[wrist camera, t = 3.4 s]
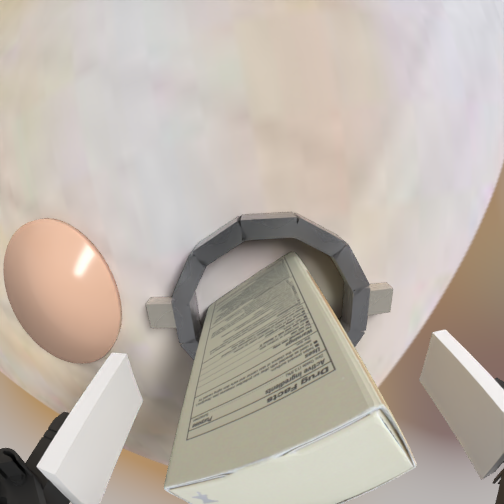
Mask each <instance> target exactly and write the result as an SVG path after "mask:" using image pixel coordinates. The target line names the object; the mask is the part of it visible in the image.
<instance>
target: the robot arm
mask: <svg viewBox="0 0 504 504" xmlns="http://www.w3.org/2000/svg"><path fill="white" fill-rule="evenodd" d="M419 380H420V382H421V384H422V385H423V387H424V388H425V390H426V391H427V392H428V394H429V395H430V397H431V398H432V400H433V401H434V403H435V405H436V406H437V407H438V409H439V411H440V412H441V414H442V415H443V417H444V418H445V420H446V422H447V423H448V425H449V426H450V428H451V430H452V431H453V433H454V434H455V436H456V438H457V439H458V441H459V443H460V444H461V446H462V447H463V449H464V451H465V452H466V454H467V456H468V458H469V459H470V461H471V463H472V464H473V466H474V468H475V470H476V471H477V473H478V475H479V477H480V479H481V480H482V479H483V478H485V477H487V476H489V475H490V474H492V473H493V472H495V471H496V470H497V469H498V468H499V466H500V465H501V464H502V463H503V462H504V382H503V381H502V380H500V379H498V378H495V379H493V378H492V376H491V375H490V374H489V373H488V372H487V371H486V370H485V369H484V368H483V367H482V366H481V365H480V364H479V363H478V362H477V361H476V360H475V359H474V358H473V357H472V355H470V353H469V352H468V351H467V350H466V349H465V348H464V347H463V346H461V345H460V344H459V342H458V341H457V340H456V339H454V338H453V337H452V336H451V335H450V334H449V333H448V332H447V331H446V330H441V331H437V332H433V333H432V336H431V340H430V344H429V348H428V352H427V355H426V359H425V363H424V366H423V370H422V373H421V376H420V379H419ZM142 402H143V399H142V396H141V394H140V391H139V388H138V385H137V383H136V380H135V377H134V374H133V371H132V368H131V365H130V362H129V359H128V356H127V354H123V353H111V354H110V356H109V357H108V358H107V360H106V361H105V363H104V364H103V365H102V367H101V368H100V370H99V371H98V373H97V374H96V375H95V377H94V378H93V380H92V381H91V383H90V384H89V386H88V387H87V388H86V390H85V391H84V393H83V394H82V396H81V397H80V399H79V400H78V402H77V403H76V405H75V406H74V408H73V409H72V411H71V412H70V413H66V412H63V413H62V414H60V415H59V416H58V417H56V418H55V419H54V420H53V422H52V423H51V425H50V426H49V428H48V430H47V431H46V432H45V434H44V437H42V438H41V440H40V441H39V443H38V444H37V446H36V448H35V449H34V451H33V452H32V454H31V455H30V457H29V459H28V460H27V462H26V463H24V461H23V460H22V459H21V458H20V456H19V455H18V454H17V453H16V452H15V451H14V450H12V449H10V448H2V449H0V504H69V503H70V502H71V503H72V504H100V503H101V500H102V498H103V495H104V492H105V490H106V487H107V485H108V482H109V480H110V477H111V475H112V472H113V470H114V467H115V465H116V463H117V460H118V458H119V455H120V453H121V451H122V448H123V446H124V443H125V441H126V439H127V436H128V434H129V432H130V429H131V427H132V425H133V422H134V420H135V418H136V416H137V413H138V411H139V409H140V406H141V404H142ZM500 477H501V480H500V481H499V483H498V484H500V486H499V491H498V495H497V500H496V503H495V504H504V469H503V470H502V471H501V472H500V473H499V474H498V475H497V477H496V478H495V479H494V481H493V483H496V482H497V481H498V479H499V478H500Z"/></svg>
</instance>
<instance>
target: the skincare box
mask: <svg viewBox="0 0 504 504" xmlns="http://www.w3.org/2000/svg"><path fill="white" fill-rule="evenodd" d="M416 465H417V464H416V461H415V459H414V457H413V454H412V452H411V450H410V448H409V445H408V443H407V441H406V439H405V437H404V435H403V433H402V431H401V429H400V428H399V426H398V424H397V422H396V420H395V418H394V416H393V415H392V413H391V411H390V409H389V407H388V406H387V404H386V402H385V400H384V398H383V397H382V395H381V393H380V391H379V389H378V388H377V386H376V384H375V382H374V381H373V379H372V377H371V375H370V374H369V372H368V370H367V368H366V366H365V365H364V363H363V361H362V359H361V358H360V356H359V354H358V352H357V351H356V349H355V347H354V345H353V344H352V342H351V340H350V339H349V337H348V335H347V333H346V332H345V330H344V328H343V327H342V325H341V323H340V322H339V320H338V318H337V317H336V315H335V313H334V312H333V310H332V308H331V307H330V305H329V303H328V302H327V300H326V298H325V297H324V295H323V293H322V292H321V290H320V289H319V287H318V285H317V284H316V282H315V280H314V279H313V277H312V276H311V274H310V273H309V271H308V270H307V268H306V267H305V265H304V264H303V262H302V261H301V259H300V258H299V256H298V255H297V254H296V253H295V252H290V253H288V254H287V255H285V256H283V257H282V258H280V259H279V260H277V261H275V262H274V263H272V264H271V265H269V266H268V267H266V268H264V269H263V270H261V271H260V272H258V273H257V274H255V275H254V276H252V277H251V278H249V279H248V280H246V281H245V282H243V283H242V284H240V285H239V286H237V287H236V288H235V289H233V290H232V291H230V292H229V293H227V294H226V295H224V296H223V297H222V298H220V299H219V300H217V301H216V302H215V303H213V304H212V305H210V306H209V307H208V310H207V314H206V318H205V321H204V325H203V329H202V333H201V337H200V340H199V344H198V348H197V352H196V355H195V359H194V363H193V368H192V371H191V375H190V379H189V383H188V387H187V391H186V395H185V399H184V403H183V407H182V411H181V414H180V419H179V423H178V427H177V432H176V436H175V440H174V444H173V449H172V453H171V458H170V462H169V466H168V470H167V475H166V479H165V484H164V489H165V490H166V491H167V492H169V493H170V494H173V495H175V496H177V497H179V498H181V499H183V500H184V501H186V502H188V503H190V504H343V503H345V502H348V501H350V500H352V499H354V498H357V497H359V496H361V495H363V494H366V493H368V492H370V491H372V490H375V489H376V488H378V487H380V486H382V485H384V484H386V483H388V482H390V481H392V480H393V479H396V478H398V477H399V476H401V475H403V474H405V473H406V472H408V471H410V470H412V469H414V468H415V467H416Z"/></svg>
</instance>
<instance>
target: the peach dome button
mask: <svg viewBox="0 0 504 504" xmlns="http://www.w3.org/2000/svg"><path fill="white" fill-rule="evenodd" d="M4 281H5V287H6V292H7V295H8V299H9V301H10V304H11V307H12V309H13V311H14V313H15V315H16V317H17V319H18V320H19V322H20V324H21V325H22V327H23V328H24V329H25V331H26V332H27V333H28V334H29V336H30V337H31V338H32V339H33V340H34V341H35V342H36V343H37V344H38V345H39V346H41V347H42V348H43V349H44V350H46V351H47V352H49V353H50V354H52V355H54V356H55V357H58V358H60V359H62V360H65V361H68V362H72V363H81V364H83V363H90V362H94V361H96V360H99V359H101V358H102V357H103V356H104V355H106V354H107V352H108V351H109V350H110V349H111V348H112V346H113V345H114V343H115V341H116V340H117V337H118V335H119V332H120V327H121V318H122V311H121V302H120V296H119V292H118V289H117V285H116V282H115V280H114V277H113V275H112V273H111V271H110V269H109V267H108V265H107V263H106V261H105V260H104V258H103V257H102V255H101V253H100V252H99V251H98V250H97V248H96V247H95V246H94V244H93V243H92V242H91V241H90V240H89V239H88V238H87V237H86V236H85V235H83V234H82V233H81V232H80V231H79V230H77V229H76V228H74V227H73V226H71V225H69V224H67V223H65V222H63V221H60V220H56V219H49V218H45V219H38V220H35V221H31V222H28V223H27V224H25V225H23V226H22V227H20V228H19V229H18V230H17V231H16V232H15V233H14V235H13V236H12V238H11V240H10V241H9V244H8V246H7V249H6V253H5V258H4Z"/></svg>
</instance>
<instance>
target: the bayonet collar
mask: <svg viewBox="0 0 504 504" xmlns="http://www.w3.org/2000/svg"><path fill="white" fill-rule="evenodd" d="M277 238H296V239H298V240H300V241H302V242H304V243H306V244H308V245H310V246H312V247H314V248H316V249H318V250H320V251H321V252H323V253H325V254H327V255H329V256H330V257H331V259H332V260H333V262H334V264H335V265H336V267H337V269H338V271H339V272H340V274H341V276H342V278H343V280H344V294H343V309H342V316H341V318H340V319H339V322H340V323H341V325H342V327H343V328H344V330H345V332H346V333H347V335H348V337H349V339H350V340H351V342H352V344H353V345H354V347H355V346H356V345H357V343H358V342H359V341H360V339H361V338H362V336H363V335H364V331H365V330H366V325H367V317H368V315H374V314H381V313H388V312H390V310H391V302H392V294H393V288H392V287H391V286H390V285H389V284H388V283H387V282H385V283H376V284H369V282H368V280H367V278H366V276H365V275H364V273H363V271H362V269H361V267H360V265H359V263H358V261H357V259H356V257H355V256H354V254H353V252H352V250H351V248H350V246H349V245H348V244H347V243H346V242H345V241H344V240H343V239H342V238H340V237H339V236H338V235H337V234H335V233H333V232H331V231H329V230H327V229H325V228H324V227H322V226H320V225H318V224H316V223H314V222H312V221H310V220H309V219H307V218H305V217H303V216H301V215H299V214H297V213H295V214H293V212H278V213H261V214H245V215H242V216H241V219H240V217H239V216H238V217H236V218H235V219H233V220H232V221H230V222H229V223H227V224H226V225H224V226H223V227H221V228H220V229H218V230H217V231H215V232H214V233H212V234H211V235H209V236H208V237H206V238H205V239H203V240H202V241H200V242H199V243H198V244H197V245H196V247H195V248H194V249H193V251H192V252H191V254H190V255H189V258H188V260H187V262H186V265H185V267H184V269H183V272H182V274H181V276H180V279H179V281H178V283H177V286H176V288H175V290H174V293H173V295H172V297H151V298H150V299H149V301H148V302H147V303H146V308H147V312H148V317H149V321H150V325H151V328H176V329H177V334H178V339H179V343H182V344H181V346H182V347H183V349H184V350H185V351H186V352H187V353H188V354H189V355H190V356H191V357H192V359H193V360H194V359H195V355H196V352H197V348H198V344H199V340H200V337H201V333H202V329H203V327H202V326H201V324H200V318H199V312H198V305H197V298H196V291H195V290H196V288H197V286H198V283H199V281H200V279H201V277H202V275H203V272H204V270H205V268H206V266H207V265H209V264H210V263H212V262H213V261H215V260H216V259H218V258H219V257H221V256H222V255H224V254H225V253H227V252H228V251H230V250H232V249H233V248H235V247H236V246H238V245H239V244H241V243H242V242H244V241H245V240H260V239H277Z"/></svg>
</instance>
